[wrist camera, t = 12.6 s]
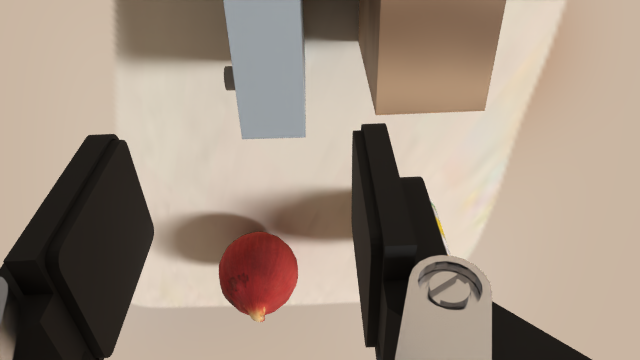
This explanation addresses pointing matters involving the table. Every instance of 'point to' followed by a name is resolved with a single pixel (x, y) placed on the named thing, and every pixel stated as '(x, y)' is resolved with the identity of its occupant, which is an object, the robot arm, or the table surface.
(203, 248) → the table surface
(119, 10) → the table surface
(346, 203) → the table surface
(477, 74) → the brown tall rectangular block
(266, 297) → the onion
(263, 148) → the table surface
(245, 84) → the pale blue tall prism
